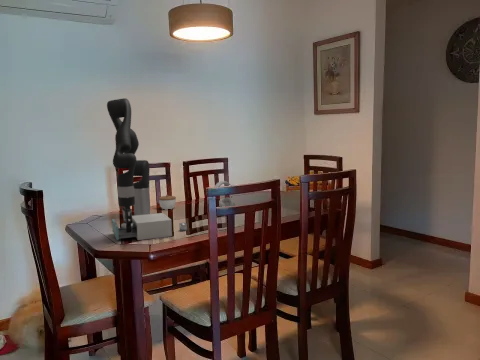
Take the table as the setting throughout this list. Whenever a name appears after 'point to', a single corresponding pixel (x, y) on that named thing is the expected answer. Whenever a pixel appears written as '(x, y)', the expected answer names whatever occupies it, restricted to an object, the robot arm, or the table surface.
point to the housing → (152, 226)
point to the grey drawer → (123, 231)
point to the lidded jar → (167, 202)
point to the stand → (183, 226)
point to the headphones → (225, 201)
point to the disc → (125, 225)
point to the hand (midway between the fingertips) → (128, 230)
